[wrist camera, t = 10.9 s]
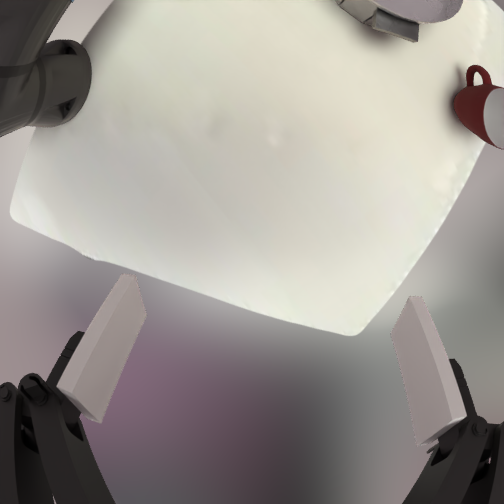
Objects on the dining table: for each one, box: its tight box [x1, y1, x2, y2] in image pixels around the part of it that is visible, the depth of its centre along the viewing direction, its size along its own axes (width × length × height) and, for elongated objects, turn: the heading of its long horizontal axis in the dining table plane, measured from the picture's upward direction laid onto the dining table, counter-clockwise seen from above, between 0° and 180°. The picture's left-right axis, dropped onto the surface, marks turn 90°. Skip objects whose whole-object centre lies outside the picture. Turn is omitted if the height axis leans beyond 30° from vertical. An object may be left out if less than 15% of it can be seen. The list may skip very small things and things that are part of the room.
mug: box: [454, 65, 504, 149], centre depth 23 cm, size 11×8×10 cm
